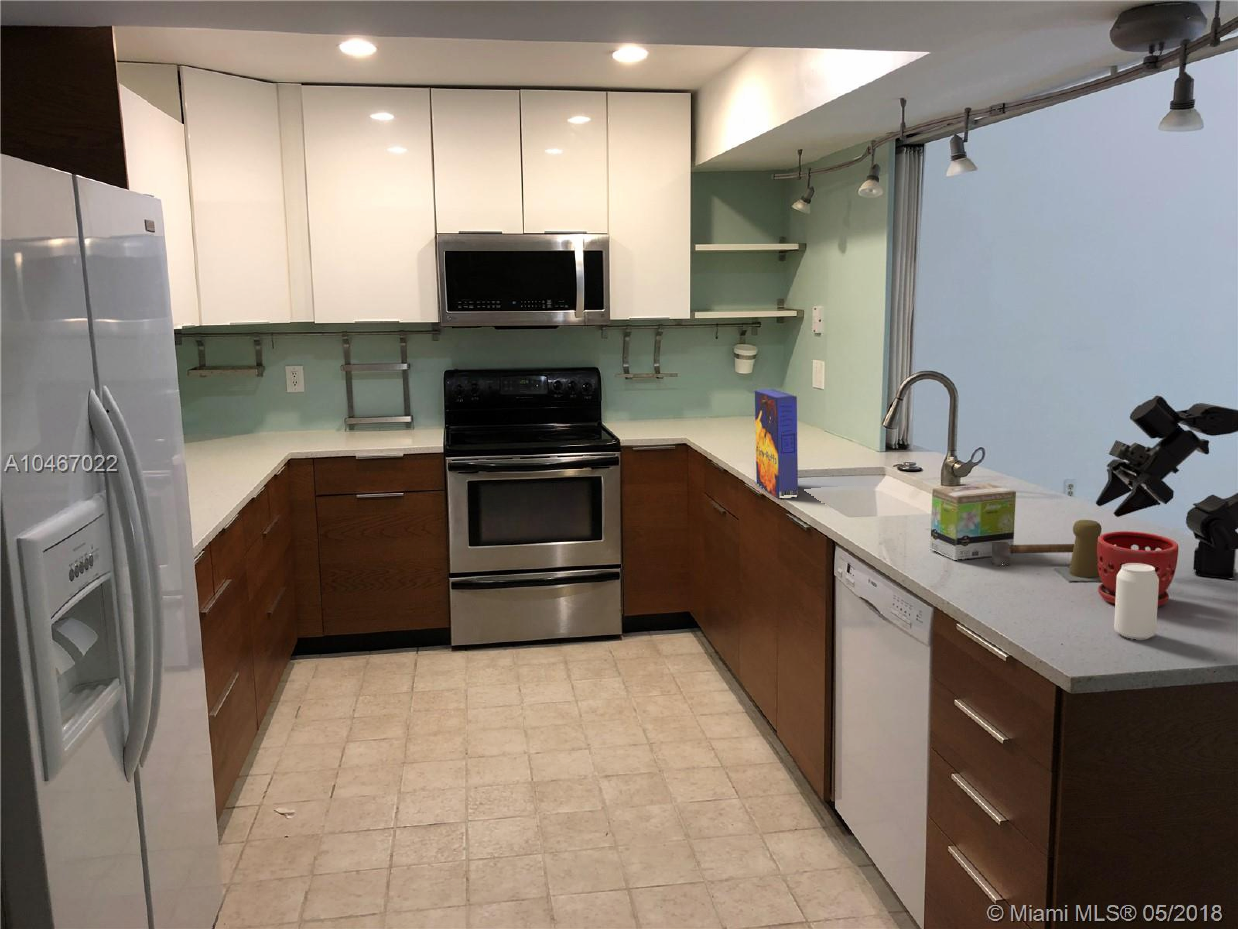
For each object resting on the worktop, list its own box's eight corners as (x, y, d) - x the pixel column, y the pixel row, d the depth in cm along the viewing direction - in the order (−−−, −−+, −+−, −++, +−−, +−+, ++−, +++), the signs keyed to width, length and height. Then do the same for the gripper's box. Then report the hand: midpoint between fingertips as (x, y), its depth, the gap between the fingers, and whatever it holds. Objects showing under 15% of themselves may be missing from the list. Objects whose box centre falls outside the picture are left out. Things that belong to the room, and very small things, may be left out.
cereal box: (756, 485, 295) (754, 389, 289) (774, 483, 296) (773, 388, 290) (778, 499, 273) (776, 396, 268) (798, 497, 274) (796, 395, 269)
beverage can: (1111, 638, 158) (1114, 569, 156) (1116, 626, 163) (1119, 560, 161) (1153, 644, 155) (1157, 574, 152) (1157, 632, 160) (1161, 564, 158)
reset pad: (1098, 568, 196) (1098, 566, 195) (1116, 581, 187) (1116, 579, 187) (1053, 569, 197) (1053, 567, 197) (1068, 582, 188) (1068, 580, 188)
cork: (1083, 579, 188) (1085, 526, 186) (1062, 570, 194) (1064, 519, 191) (1108, 575, 189) (1111, 522, 187) (1086, 567, 195) (1088, 515, 193)
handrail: (1098, 560, 201) (1099, 540, 200) (1103, 564, 198) (1104, 544, 197) (991, 561, 204) (992, 542, 203) (995, 565, 201) (995, 545, 200)
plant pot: (1084, 603, 175) (1087, 541, 173) (1109, 586, 184) (1112, 527, 182) (1162, 618, 166) (1165, 553, 164) (1184, 599, 175) (1188, 537, 173)
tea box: (956, 562, 205) (957, 496, 202) (929, 551, 214) (930, 487, 211) (1015, 554, 208) (1017, 489, 206) (986, 543, 218) (987, 481, 215)
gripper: (1119, 420, 194) (1061, 474, 198) (1159, 433, 176) (1095, 492, 179) (1157, 456, 195) (1098, 509, 198) (1201, 474, 177) (1136, 532, 180)
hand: (1106, 510), depth 189 cm, fingers open, 9 cm apart
